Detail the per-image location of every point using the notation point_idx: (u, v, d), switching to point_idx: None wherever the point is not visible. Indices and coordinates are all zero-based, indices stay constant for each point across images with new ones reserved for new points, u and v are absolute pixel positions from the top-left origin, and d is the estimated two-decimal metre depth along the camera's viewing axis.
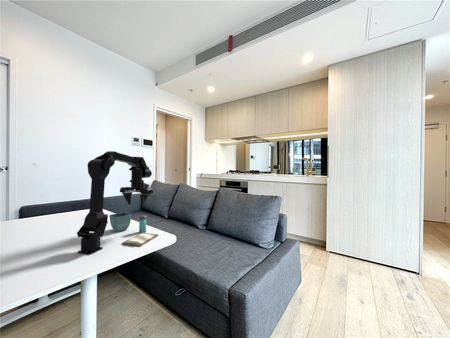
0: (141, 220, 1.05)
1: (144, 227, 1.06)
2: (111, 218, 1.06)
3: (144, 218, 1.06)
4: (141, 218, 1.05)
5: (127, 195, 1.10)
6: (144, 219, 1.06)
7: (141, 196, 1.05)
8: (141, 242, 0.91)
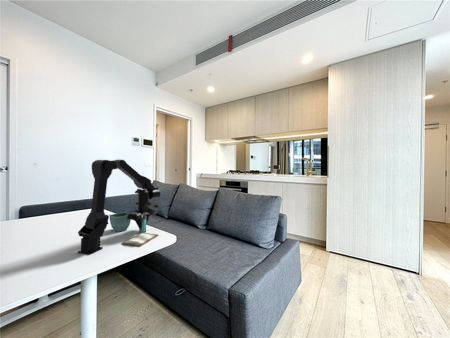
0: None
1: (144, 227, 1.06)
2: (111, 218, 1.06)
3: (144, 218, 1.06)
4: None
5: None
6: (144, 219, 1.06)
7: None
8: (141, 242, 0.91)
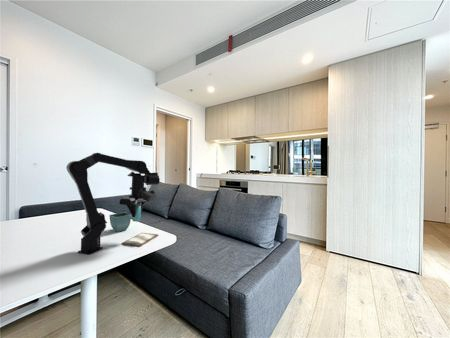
0: None
1: (138, 215, 0.95)
2: (111, 219, 1.06)
3: (138, 205, 0.95)
4: None
5: None
6: (138, 206, 0.95)
7: None
8: (141, 242, 0.91)
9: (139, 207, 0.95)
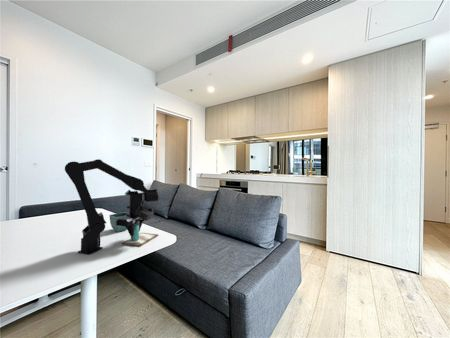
0: None
1: (136, 234, 0.92)
2: (111, 218, 1.06)
3: (136, 224, 0.92)
4: None
5: None
6: (136, 225, 0.92)
7: None
8: (141, 242, 0.91)
9: (137, 226, 0.92)
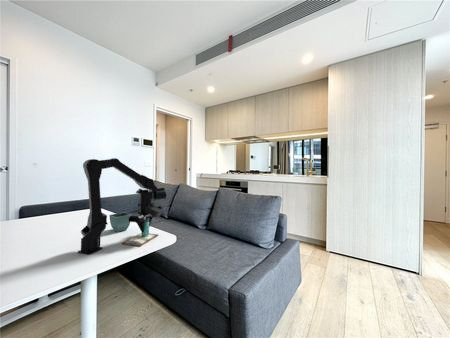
0: None
1: (147, 230, 0.98)
2: (111, 218, 1.06)
3: (147, 220, 0.98)
4: None
5: None
6: (147, 221, 0.98)
7: None
8: (141, 242, 0.91)
9: (147, 222, 0.99)
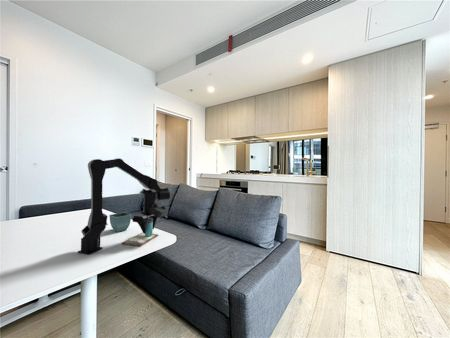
0: (147, 223, 0.98)
1: (150, 231, 0.98)
2: (111, 219, 1.06)
3: (150, 221, 0.98)
4: None
5: None
6: (150, 222, 0.98)
7: None
8: (141, 242, 0.91)
9: (151, 223, 0.99)
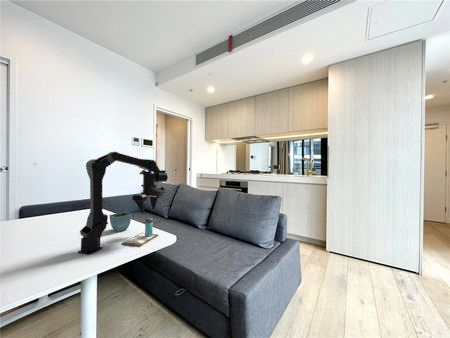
0: (147, 223, 0.97)
1: (150, 231, 0.98)
2: (111, 218, 1.06)
3: (150, 221, 0.98)
4: (147, 221, 0.97)
5: (151, 199, 1.08)
6: (150, 222, 0.98)
7: None
8: (141, 242, 0.91)
9: (151, 223, 0.99)
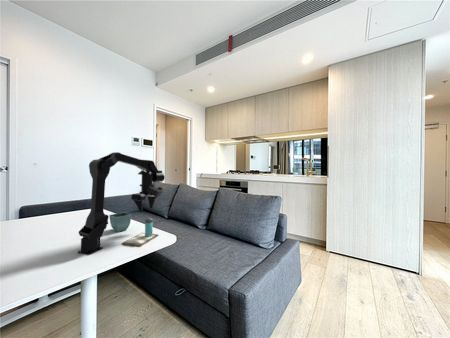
0: (147, 223, 0.97)
1: (150, 231, 0.98)
2: (111, 218, 1.06)
3: (150, 221, 0.98)
4: (147, 221, 0.97)
5: (149, 198, 1.12)
6: (150, 222, 0.98)
7: None
8: (141, 242, 0.91)
9: (151, 223, 0.98)
